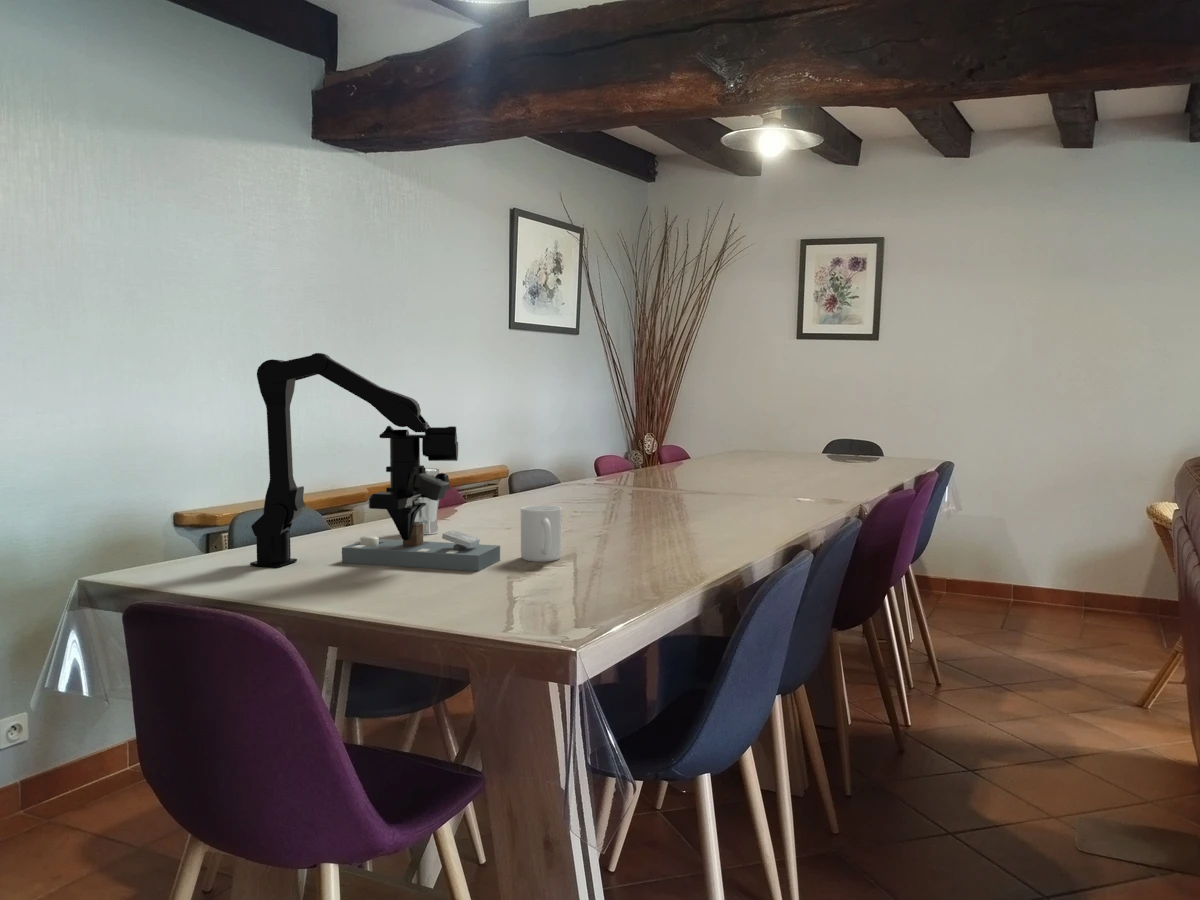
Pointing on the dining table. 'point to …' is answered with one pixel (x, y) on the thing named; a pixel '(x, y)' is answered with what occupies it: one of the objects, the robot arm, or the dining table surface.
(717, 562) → the dining table surface
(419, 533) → the slider knob
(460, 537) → the rocker paddle
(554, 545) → the mug
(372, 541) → the white rounded cube
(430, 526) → the beer glass
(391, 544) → the console
